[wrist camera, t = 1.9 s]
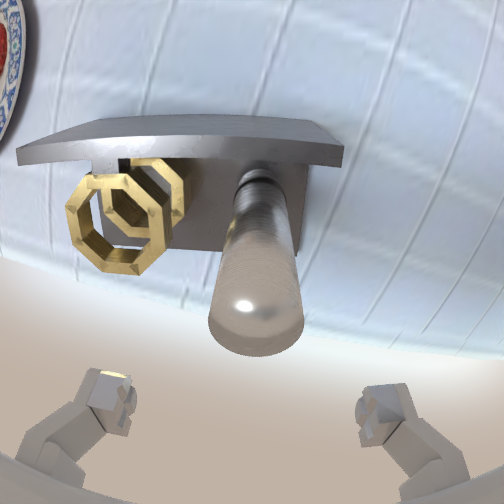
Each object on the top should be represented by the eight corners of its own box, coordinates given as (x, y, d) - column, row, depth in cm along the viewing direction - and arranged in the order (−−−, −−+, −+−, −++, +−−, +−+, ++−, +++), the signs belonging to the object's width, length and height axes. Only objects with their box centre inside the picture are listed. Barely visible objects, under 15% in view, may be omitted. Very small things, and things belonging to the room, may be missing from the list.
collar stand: (311, 120, 25) (344, 145, 15) (295, 250, 32) (309, 334, 21) (96, 119, 25) (15, 148, 15) (109, 239, 32) (55, 308, 22)
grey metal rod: (286, 169, 27) (314, 287, 12) (281, 213, 29) (298, 359, 14) (237, 166, 27) (203, 280, 12) (235, 210, 29) (207, 354, 14)
